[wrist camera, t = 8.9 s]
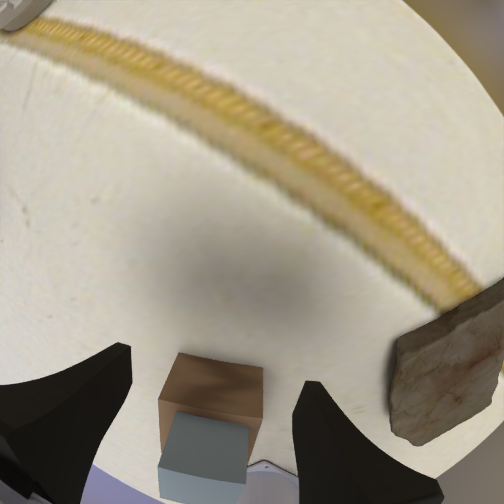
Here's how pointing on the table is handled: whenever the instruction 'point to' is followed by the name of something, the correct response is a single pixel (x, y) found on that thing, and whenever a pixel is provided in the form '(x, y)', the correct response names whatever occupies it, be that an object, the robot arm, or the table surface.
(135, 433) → the table surface
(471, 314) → the flat brown rock
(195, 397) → the wood grain block
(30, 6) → the flag stand
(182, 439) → the slate cube
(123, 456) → the table surface
